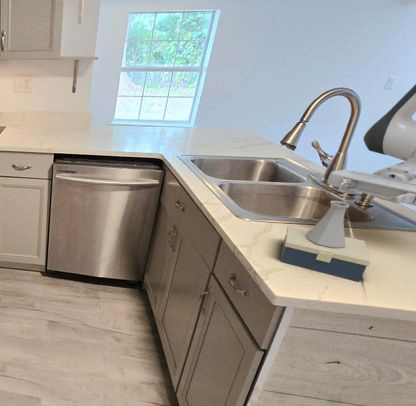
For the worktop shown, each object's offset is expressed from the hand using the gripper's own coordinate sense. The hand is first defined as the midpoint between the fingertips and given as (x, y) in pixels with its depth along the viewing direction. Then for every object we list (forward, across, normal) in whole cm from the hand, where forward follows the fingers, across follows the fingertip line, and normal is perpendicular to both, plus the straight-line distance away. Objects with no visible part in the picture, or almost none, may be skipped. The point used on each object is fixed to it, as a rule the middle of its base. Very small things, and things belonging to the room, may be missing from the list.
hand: (367, 193), depth 88 cm
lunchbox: (+12, 0, +16) cm, 20 cm away
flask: (+12, 0, +10) cm, 16 cm away
